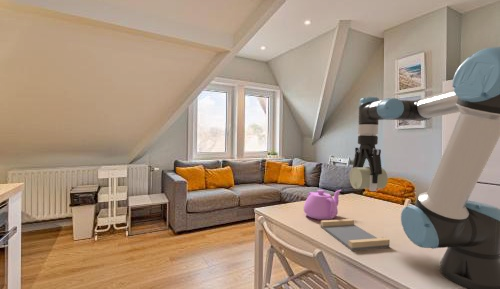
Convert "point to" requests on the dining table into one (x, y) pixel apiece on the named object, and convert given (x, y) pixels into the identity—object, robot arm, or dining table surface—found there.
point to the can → (366, 178)
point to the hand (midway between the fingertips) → (365, 188)
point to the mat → (353, 235)
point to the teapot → (321, 205)
